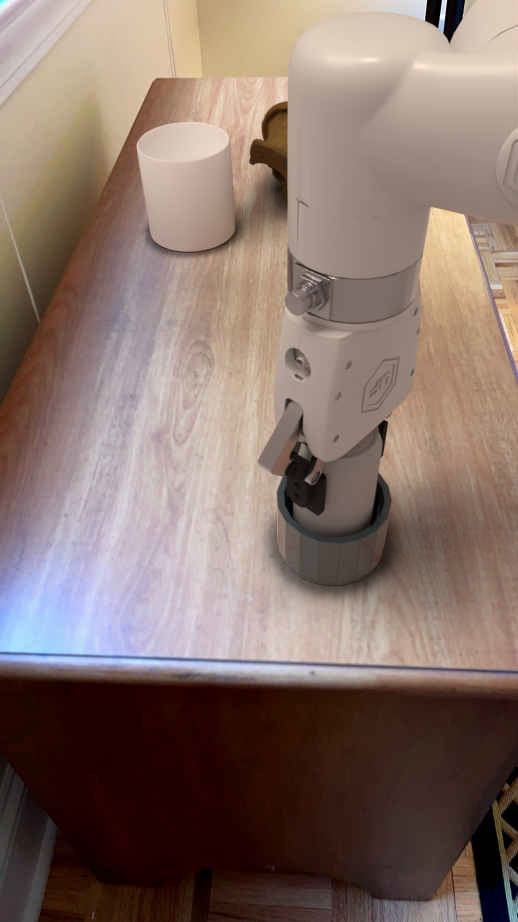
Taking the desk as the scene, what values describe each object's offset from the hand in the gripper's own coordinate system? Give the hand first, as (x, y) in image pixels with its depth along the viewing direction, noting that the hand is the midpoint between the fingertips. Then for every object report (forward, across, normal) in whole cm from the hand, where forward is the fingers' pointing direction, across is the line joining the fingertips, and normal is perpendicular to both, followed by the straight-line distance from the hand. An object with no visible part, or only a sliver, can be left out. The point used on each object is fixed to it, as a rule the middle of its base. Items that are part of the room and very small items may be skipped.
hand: (335, 474), depth 53 cm
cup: (+9, +28, +47) cm, 55 cm away
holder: (+9, 0, 0) cm, 9 cm away
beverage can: (+7, 0, 0) cm, 7 cm away
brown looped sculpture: (+9, +44, +41) cm, 61 cm away
